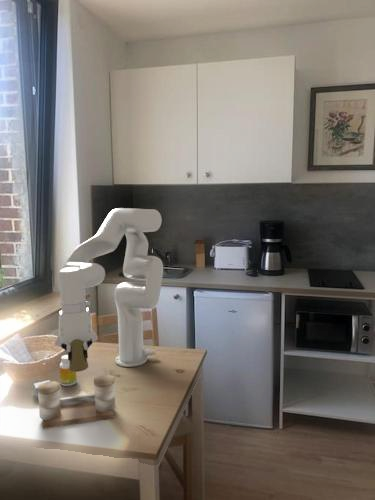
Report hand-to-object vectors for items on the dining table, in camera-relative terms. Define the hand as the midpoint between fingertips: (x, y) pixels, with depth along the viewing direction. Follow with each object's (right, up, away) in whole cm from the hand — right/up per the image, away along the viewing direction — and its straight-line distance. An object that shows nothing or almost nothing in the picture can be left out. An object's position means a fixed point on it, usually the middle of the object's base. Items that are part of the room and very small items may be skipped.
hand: (78, 360), depth 138 cm
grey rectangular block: (-12, -12, +4) cm, 18 cm away
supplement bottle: (-7, -11, +12) cm, 18 cm away
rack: (+2, -14, -9) cm, 17 cm away
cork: (0, -2, 0) cm, 3 cm away
